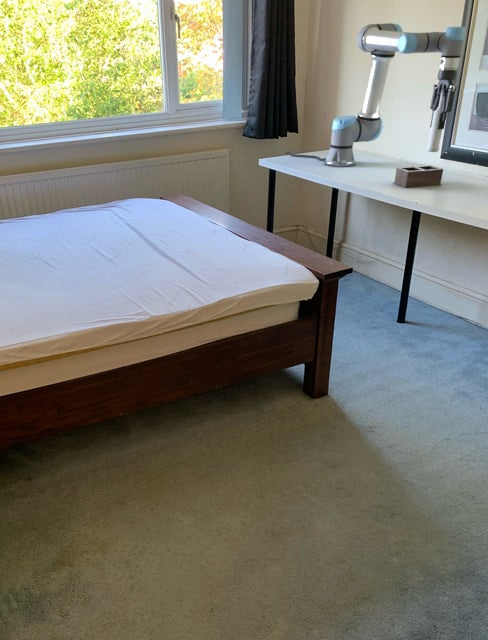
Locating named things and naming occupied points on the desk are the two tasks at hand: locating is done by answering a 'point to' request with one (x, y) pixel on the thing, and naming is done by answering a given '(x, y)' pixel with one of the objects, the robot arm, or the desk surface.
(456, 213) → the desk surface
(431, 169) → the caddy
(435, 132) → the bottle
